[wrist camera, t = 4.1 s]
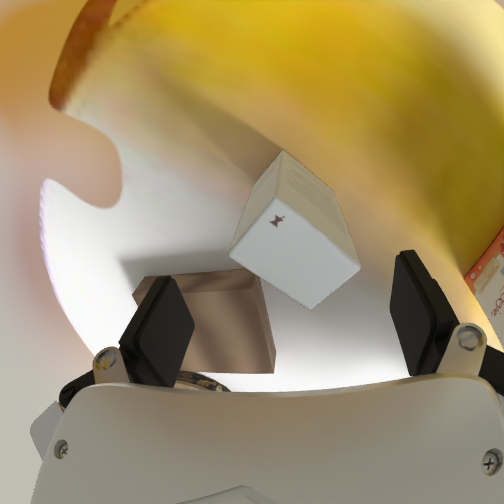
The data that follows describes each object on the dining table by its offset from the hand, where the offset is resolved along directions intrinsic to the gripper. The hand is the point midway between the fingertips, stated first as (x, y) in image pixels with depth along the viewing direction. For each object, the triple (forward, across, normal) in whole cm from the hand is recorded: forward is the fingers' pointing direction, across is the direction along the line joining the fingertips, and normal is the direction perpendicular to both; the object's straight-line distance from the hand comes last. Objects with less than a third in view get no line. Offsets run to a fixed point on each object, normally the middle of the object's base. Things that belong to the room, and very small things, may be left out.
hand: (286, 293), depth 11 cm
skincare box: (+15, 0, +1) cm, 15 cm away
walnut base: (+15, +12, +16) cm, 25 cm away
